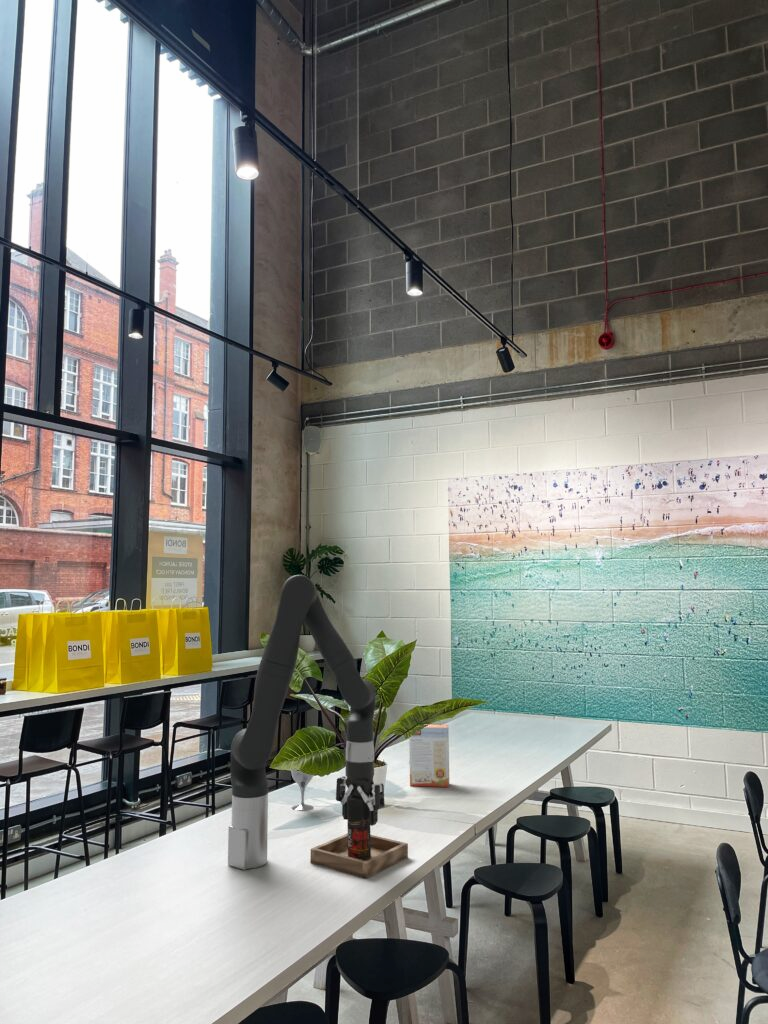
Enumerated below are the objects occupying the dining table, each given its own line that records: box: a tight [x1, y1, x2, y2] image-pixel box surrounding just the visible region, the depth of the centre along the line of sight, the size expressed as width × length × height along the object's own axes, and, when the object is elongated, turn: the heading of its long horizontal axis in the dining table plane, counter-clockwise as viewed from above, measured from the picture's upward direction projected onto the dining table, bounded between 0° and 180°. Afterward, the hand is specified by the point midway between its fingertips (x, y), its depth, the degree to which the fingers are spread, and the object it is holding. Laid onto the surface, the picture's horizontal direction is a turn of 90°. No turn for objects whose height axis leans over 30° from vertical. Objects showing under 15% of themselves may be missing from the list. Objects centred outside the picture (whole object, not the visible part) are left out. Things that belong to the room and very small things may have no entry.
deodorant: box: [347, 795, 371, 860], centre depth 196 cm, size 6×6×15 cm
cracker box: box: [408, 724, 450, 788], centre depth 272 cm, size 14×6×21 cm, turn 82°
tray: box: [310, 832, 409, 879], centre depth 196 cm, size 18×18×4 cm
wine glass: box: [290, 769, 315, 812], centre depth 244 cm, size 8×8×15 cm
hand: (359, 821), depth 196 cm, fingers open, 8 cm apart
